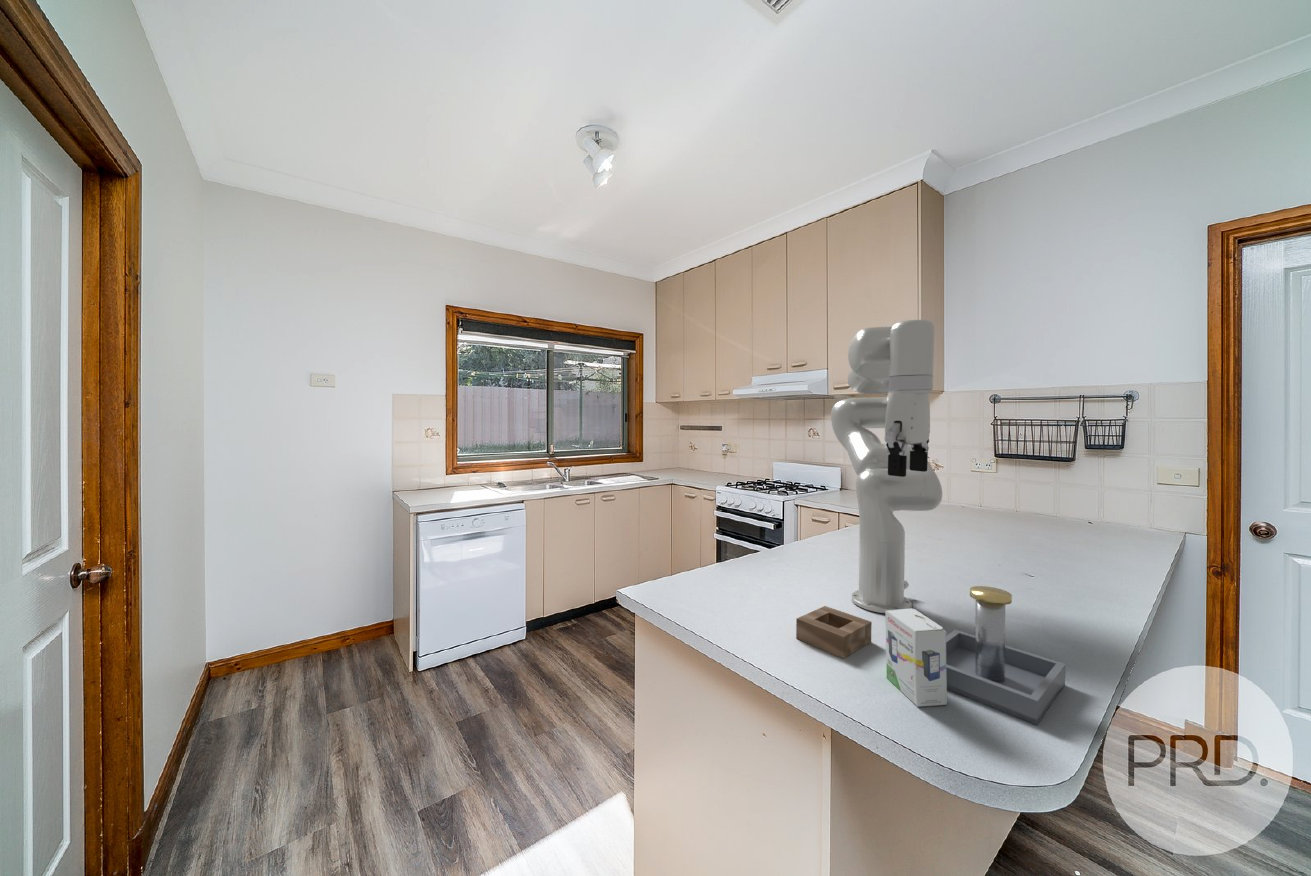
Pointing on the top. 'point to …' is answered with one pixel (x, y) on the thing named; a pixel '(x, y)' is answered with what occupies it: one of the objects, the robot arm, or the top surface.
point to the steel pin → (990, 631)
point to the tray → (1025, 679)
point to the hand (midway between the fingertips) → (907, 473)
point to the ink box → (916, 656)
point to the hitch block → (834, 631)
